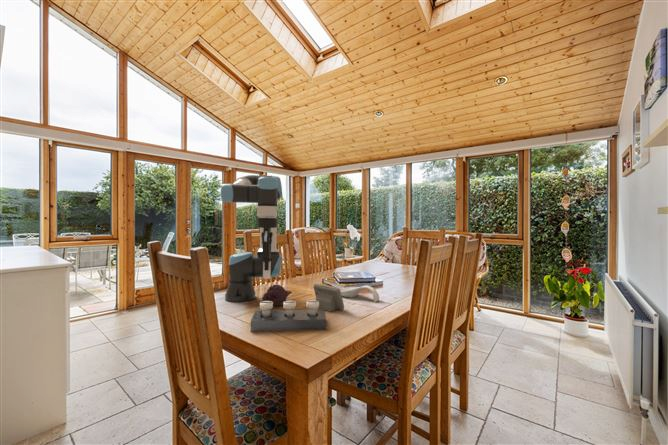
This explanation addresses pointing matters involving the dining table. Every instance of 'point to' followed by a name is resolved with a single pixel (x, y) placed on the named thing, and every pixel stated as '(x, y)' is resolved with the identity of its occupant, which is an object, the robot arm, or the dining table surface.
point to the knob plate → (288, 321)
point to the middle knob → (289, 308)
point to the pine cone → (276, 294)
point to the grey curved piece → (355, 290)
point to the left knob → (266, 308)
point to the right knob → (312, 307)
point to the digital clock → (328, 297)
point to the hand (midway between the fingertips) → (266, 278)
